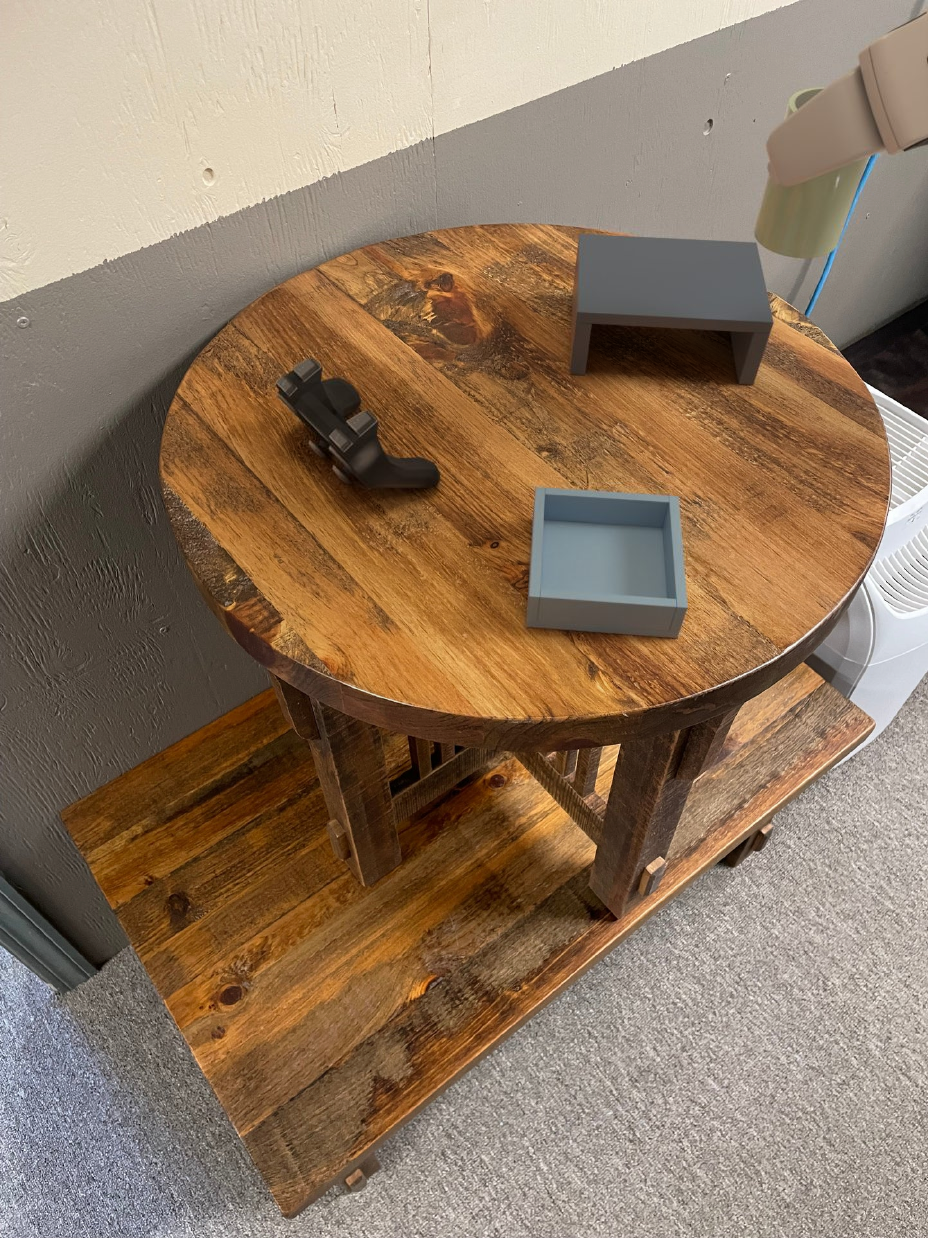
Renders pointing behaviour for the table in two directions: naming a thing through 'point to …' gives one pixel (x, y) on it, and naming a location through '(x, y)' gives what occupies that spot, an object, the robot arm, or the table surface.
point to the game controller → (349, 431)
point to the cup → (807, 205)
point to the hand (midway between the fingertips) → (812, 157)
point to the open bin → (606, 563)
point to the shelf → (671, 292)
